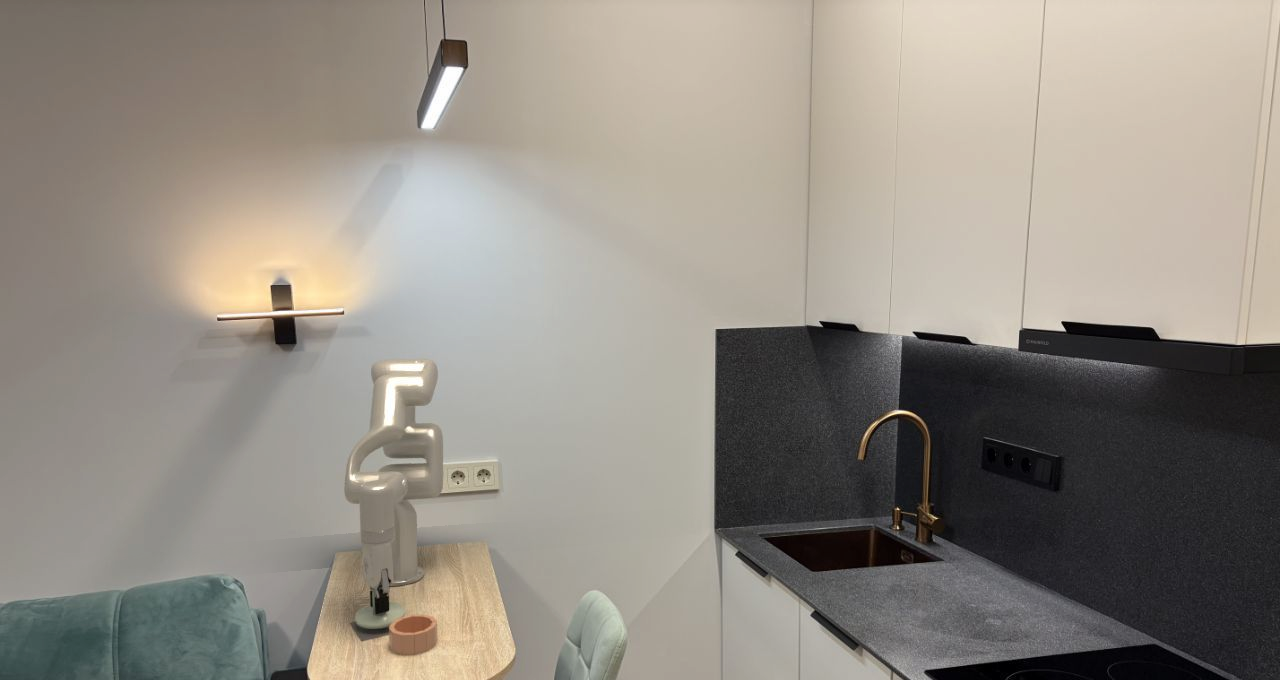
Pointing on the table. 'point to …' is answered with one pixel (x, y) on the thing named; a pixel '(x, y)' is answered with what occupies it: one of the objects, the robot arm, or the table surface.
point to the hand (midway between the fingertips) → (379, 608)
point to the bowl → (413, 634)
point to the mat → (369, 632)
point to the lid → (378, 615)
